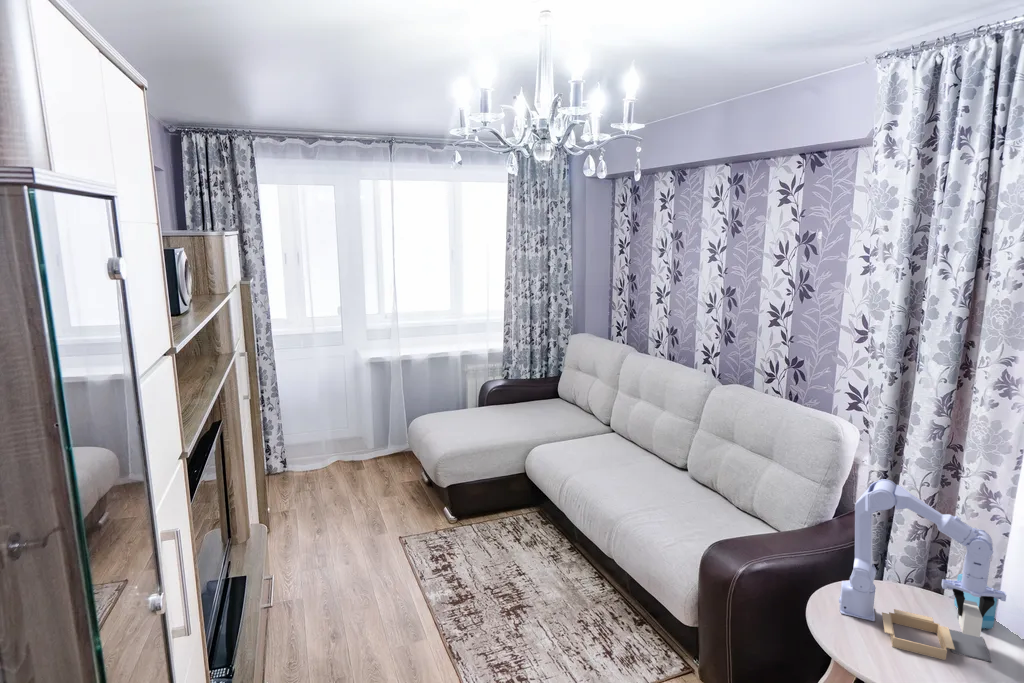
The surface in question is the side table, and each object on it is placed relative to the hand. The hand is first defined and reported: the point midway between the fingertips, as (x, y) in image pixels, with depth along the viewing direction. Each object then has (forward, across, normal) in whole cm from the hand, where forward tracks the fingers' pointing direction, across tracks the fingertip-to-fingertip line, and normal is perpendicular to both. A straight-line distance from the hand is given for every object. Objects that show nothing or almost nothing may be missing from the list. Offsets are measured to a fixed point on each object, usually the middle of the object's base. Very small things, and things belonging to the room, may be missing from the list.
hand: (969, 616), depth 173 cm
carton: (+9, -13, -2) cm, 16 cm away
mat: (+10, 0, 0) cm, 10 cm away
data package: (+10, +4, +16) cm, 19 cm away
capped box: (+3, 0, 0) cm, 3 cm away
